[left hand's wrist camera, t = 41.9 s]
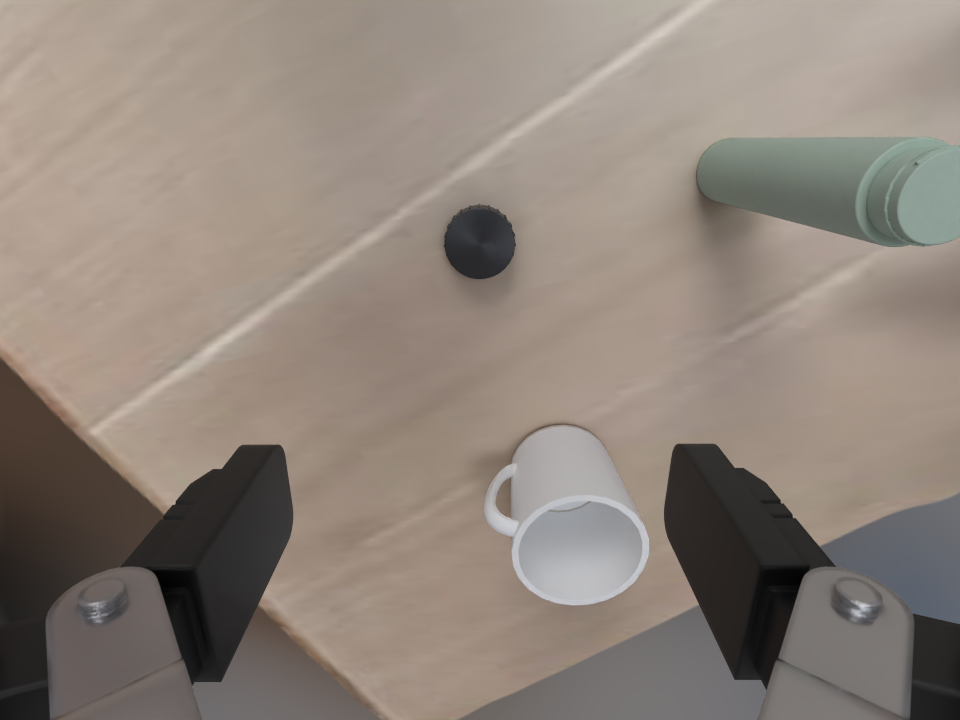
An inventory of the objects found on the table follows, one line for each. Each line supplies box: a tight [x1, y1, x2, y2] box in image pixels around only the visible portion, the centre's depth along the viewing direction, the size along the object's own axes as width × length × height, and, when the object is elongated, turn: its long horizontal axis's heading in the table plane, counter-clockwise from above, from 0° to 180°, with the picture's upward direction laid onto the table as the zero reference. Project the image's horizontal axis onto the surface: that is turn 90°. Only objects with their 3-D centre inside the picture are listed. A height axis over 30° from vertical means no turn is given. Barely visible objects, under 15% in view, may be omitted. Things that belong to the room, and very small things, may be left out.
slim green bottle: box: [697, 137, 960, 247], centre depth 29 cm, size 4×4×19 cm
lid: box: [444, 204, 516, 279], centre depth 38 cm, size 5×5×2 cm
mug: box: [483, 425, 649, 606], centre depth 41 cm, size 11×9×10 cm
